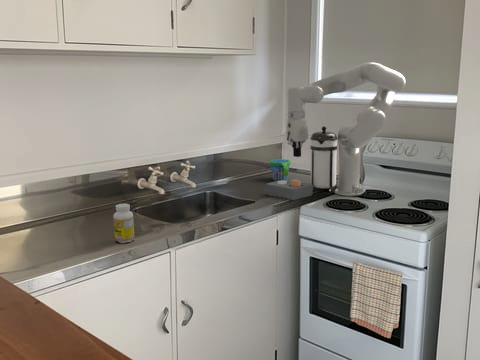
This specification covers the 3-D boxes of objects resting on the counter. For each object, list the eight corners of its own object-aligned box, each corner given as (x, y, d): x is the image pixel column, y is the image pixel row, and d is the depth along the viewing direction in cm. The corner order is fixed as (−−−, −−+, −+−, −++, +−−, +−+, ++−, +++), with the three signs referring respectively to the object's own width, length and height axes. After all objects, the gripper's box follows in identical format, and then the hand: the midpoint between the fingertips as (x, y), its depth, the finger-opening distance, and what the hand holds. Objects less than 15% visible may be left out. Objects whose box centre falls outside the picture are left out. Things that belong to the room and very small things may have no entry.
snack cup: (266, 177, 287) (266, 158, 285) (285, 176, 290) (285, 157, 287) (274, 183, 272) (274, 163, 270) (294, 182, 275) (294, 162, 272)
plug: (288, 192, 252) (288, 181, 251) (282, 193, 249) (282, 183, 248) (281, 190, 255) (281, 180, 254) (275, 192, 252) (275, 181, 251)
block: (312, 195, 247) (312, 184, 246) (293, 200, 239) (293, 189, 238) (284, 189, 259) (284, 179, 258) (265, 194, 251) (265, 183, 250)
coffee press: (346, 190, 256) (348, 126, 250) (317, 193, 250) (318, 128, 244) (327, 183, 272) (328, 123, 265) (299, 186, 266) (299, 125, 260)
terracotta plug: (302, 191, 245) (303, 180, 244) (296, 192, 242) (296, 182, 241) (295, 189, 249) (295, 179, 247) (289, 191, 246) (289, 180, 245)
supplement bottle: (111, 240, 188) (109, 204, 185) (129, 237, 192) (127, 201, 189) (120, 245, 182) (117, 208, 180) (138, 241, 186) (135, 205, 184)
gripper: (291, 117, 231) (292, 159, 235) (314, 114, 241) (314, 154, 244) (278, 116, 236) (279, 158, 240) (301, 113, 246) (301, 153, 250)
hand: (297, 156), depth 242 cm, fingers closed
